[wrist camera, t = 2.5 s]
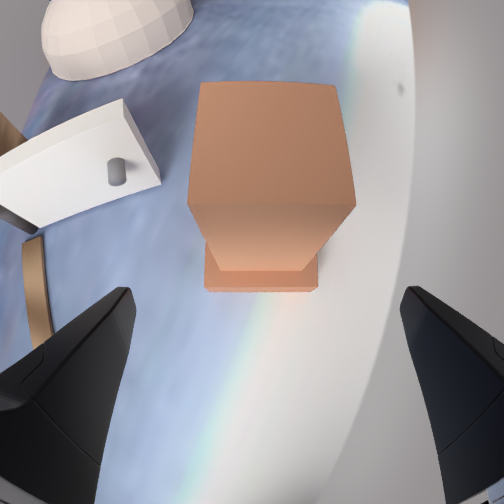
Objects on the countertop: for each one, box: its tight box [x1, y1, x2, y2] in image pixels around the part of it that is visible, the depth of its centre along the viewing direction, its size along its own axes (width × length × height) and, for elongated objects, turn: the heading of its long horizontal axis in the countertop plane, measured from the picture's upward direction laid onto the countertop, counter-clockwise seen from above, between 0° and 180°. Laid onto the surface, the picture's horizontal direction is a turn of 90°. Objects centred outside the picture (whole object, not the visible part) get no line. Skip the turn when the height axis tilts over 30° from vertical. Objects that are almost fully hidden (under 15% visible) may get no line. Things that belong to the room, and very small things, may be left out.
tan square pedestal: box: [187, 81, 356, 292], centre depth 16 cm, size 7×7×13 cm
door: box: [0, 98, 161, 228], centre depth 18 cm, size 12×3×9 cm, turn 106°
